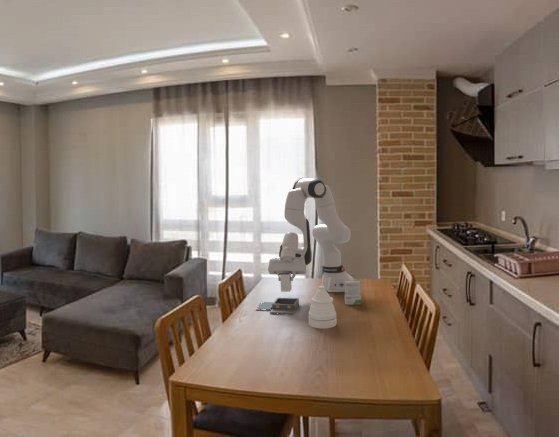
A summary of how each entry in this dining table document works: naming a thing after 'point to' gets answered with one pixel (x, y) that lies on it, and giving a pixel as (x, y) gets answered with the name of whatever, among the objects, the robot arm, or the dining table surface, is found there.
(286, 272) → the block
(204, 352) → the dining table surface
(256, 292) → the dining table surface
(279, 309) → the equipment case
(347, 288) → the ink box
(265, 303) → the mat
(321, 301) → the honey pot
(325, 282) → the robot arm
